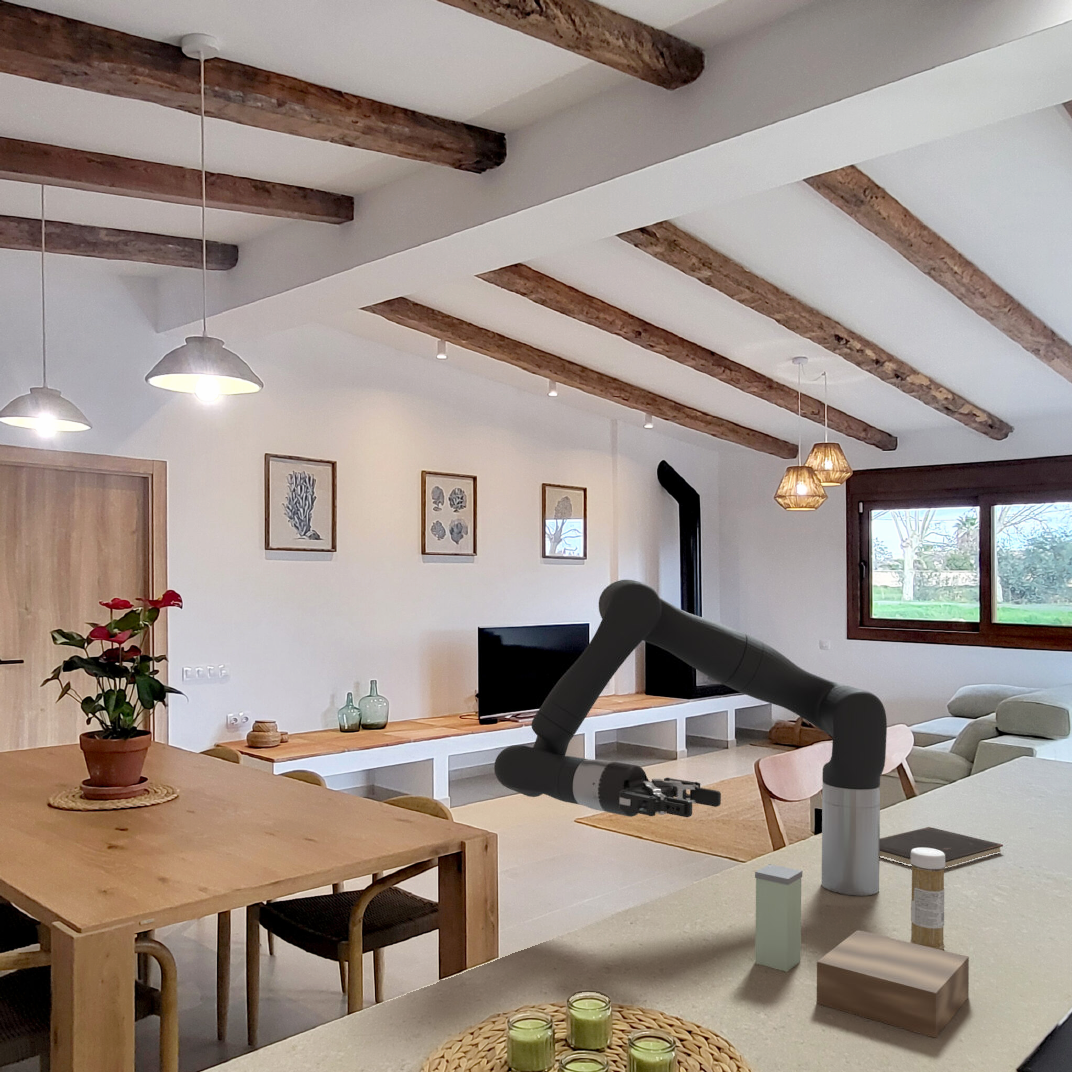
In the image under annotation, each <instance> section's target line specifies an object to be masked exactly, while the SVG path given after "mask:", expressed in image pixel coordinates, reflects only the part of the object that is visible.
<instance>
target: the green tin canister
mask: <svg viewBox="0 0 1072 1072" xmlns="http://www.w3.org/2000/svg"><path fill="white" fill-rule="evenodd" d="M754 873H755V874H754V878H755V933H754V935H755V936H754V937H755V938H754V940H755V941H754V942H755V943H754V944H755V945H754V947H755V949H754V963H755V964H757V965H760V966H765V967H768V968H772V969H776V970H778V969H779V970H778V971H782V970H783V971H782V972H788V971H790V970H791V969H793V968H794V967H795V966H797V965H798V964H800V962H801V957H802V956H801V949H802V948H801V947H802V946H801V944H802V943H801V942H802V941H801V940H802V938H801V937H802V935H801V934H802V930H801V929H802V878H803V870H801V869H800V870H799V869H794V868H790V867H785V866H781V865H776V864H771V863H770V864H768V865H765V866H764V867H761V868H760V869H758V870H756V871H755V872H754Z"/></svg>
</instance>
